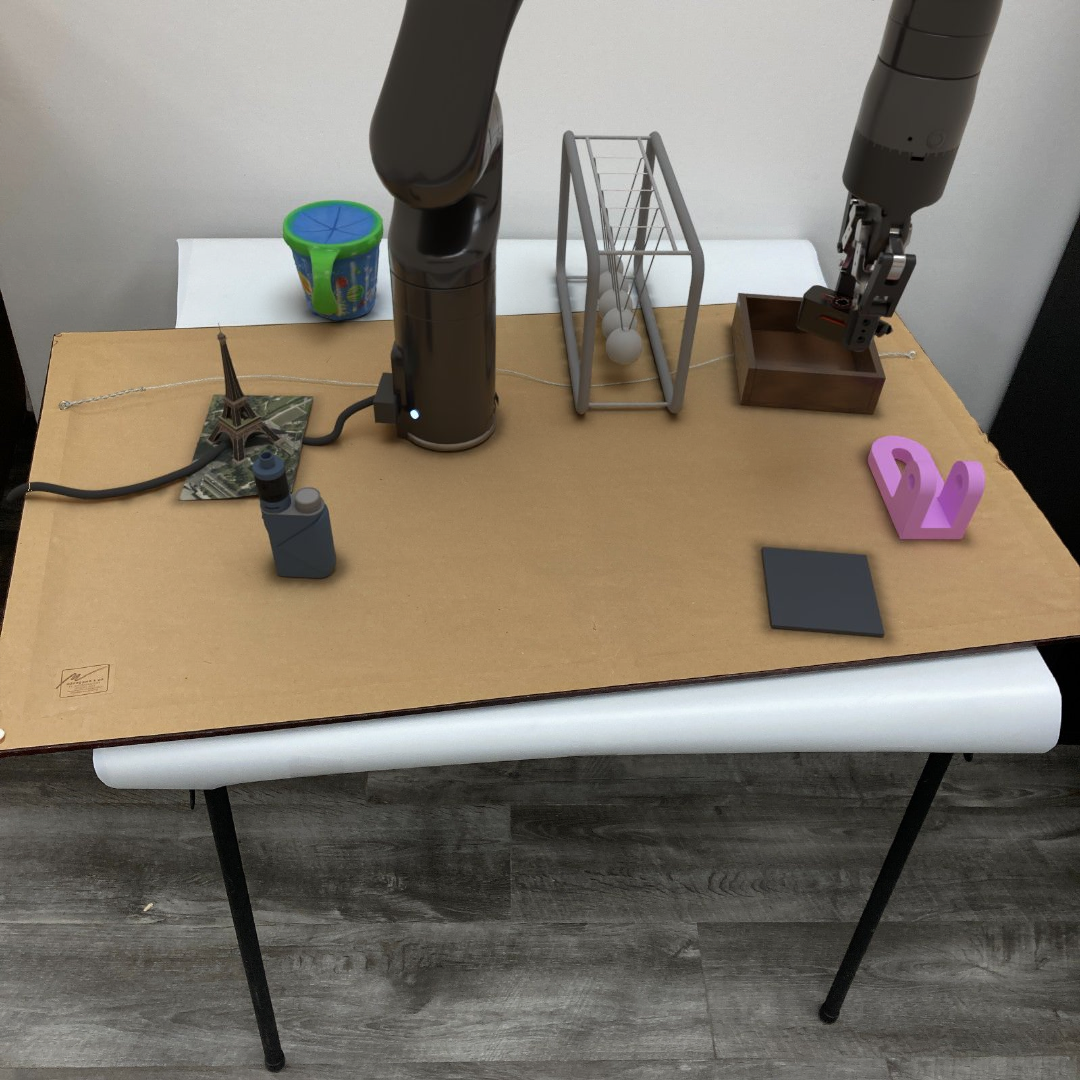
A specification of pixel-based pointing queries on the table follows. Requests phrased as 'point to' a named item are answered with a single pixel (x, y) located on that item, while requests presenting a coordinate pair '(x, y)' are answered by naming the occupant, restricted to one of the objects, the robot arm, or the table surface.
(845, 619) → the pad
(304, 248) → the snack cup
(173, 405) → the table surface
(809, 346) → the wooden box
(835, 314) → the black electronic gadget
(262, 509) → the vaping device
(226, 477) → the eiffel tower figurine
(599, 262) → the newton's cradle
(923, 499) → the bracket
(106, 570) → the table surface
